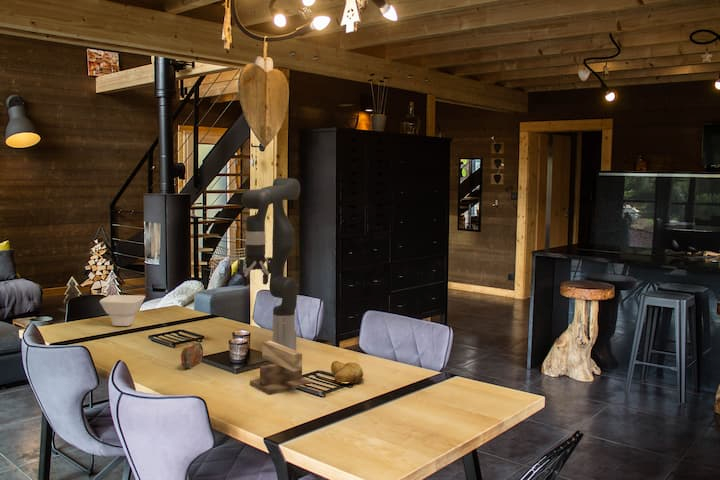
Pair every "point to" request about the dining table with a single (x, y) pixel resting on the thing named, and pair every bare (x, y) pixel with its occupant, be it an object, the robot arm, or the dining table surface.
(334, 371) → the bread roll
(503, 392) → the dining table surface
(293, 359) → the oak bar
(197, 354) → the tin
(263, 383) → the stand
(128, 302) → the bowl
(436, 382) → the dining table surface
